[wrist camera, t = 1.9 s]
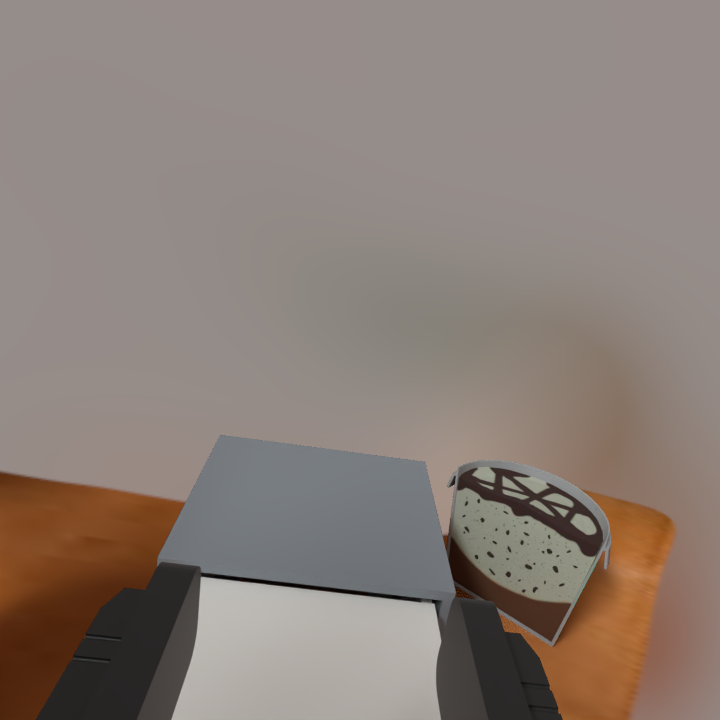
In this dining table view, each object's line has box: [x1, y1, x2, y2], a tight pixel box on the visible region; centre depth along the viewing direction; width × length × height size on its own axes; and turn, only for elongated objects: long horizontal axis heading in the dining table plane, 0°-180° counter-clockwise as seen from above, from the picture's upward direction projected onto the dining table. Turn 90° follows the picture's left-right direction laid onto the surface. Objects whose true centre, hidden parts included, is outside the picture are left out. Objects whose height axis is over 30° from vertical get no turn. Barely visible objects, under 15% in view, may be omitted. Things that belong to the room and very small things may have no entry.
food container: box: [446, 460, 611, 647], centre depth 43 cm, size 12×6×10 cm, turn 51°
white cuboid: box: [171, 572, 441, 720], centre depth 32 cm, size 25×14×8 cm, turn 1°
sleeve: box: [157, 435, 456, 641], centre depth 37 cm, size 14×16×10 cm
